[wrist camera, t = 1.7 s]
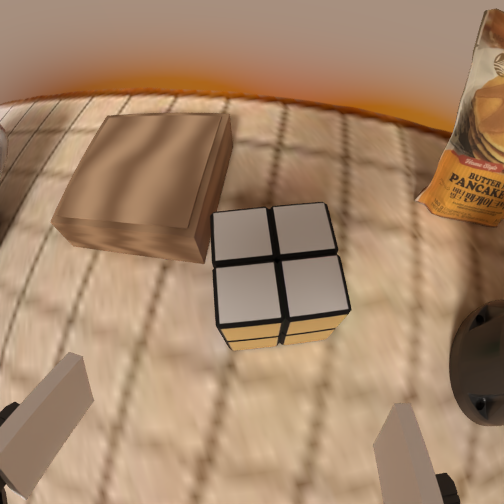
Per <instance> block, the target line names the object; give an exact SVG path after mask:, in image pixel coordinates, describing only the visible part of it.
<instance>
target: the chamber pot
mask: <svg viewBox="0 0 504 504" xmlns="http://www.w3.org/2000/svg"><path fill="white" fill-rule="evenodd" d="M7 153H8V138H7V135H6V132H5V129H4V128H3V127H2V126H1V124H0V179H1V175H2V172H3V169H4V166H5V163H6V160H7Z"/></svg>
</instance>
